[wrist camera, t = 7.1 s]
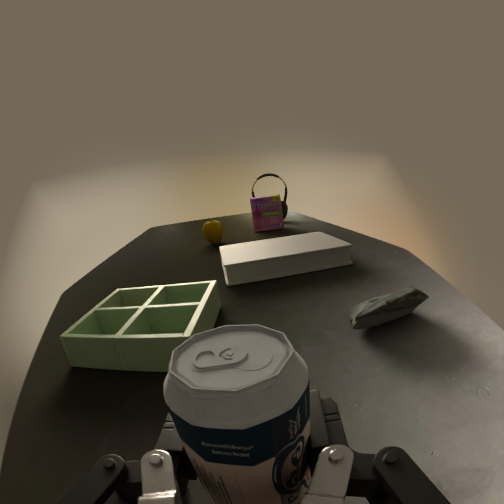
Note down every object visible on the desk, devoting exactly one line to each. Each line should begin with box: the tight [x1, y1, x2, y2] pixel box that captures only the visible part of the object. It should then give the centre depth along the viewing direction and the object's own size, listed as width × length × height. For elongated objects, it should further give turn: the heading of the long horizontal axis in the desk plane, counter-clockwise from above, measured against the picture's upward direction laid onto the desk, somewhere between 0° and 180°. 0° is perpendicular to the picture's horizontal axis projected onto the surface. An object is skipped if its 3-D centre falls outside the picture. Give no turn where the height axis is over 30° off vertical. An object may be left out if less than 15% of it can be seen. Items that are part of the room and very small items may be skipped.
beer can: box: [163, 324, 310, 504], centre depth 10 cm, size 5×5×12 cm
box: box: [250, 194, 284, 232], centre depth 104 cm, size 10×6×12 cm, turn 88°
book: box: [219, 232, 353, 286], centre depth 61 cm, size 18×4×24 cm
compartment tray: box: [59, 280, 221, 372], centre depth 35 cm, size 16×16×4 cm
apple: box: [202, 218, 223, 244], centre depth 91 cm, size 6×6×8 cm
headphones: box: [252, 174, 288, 220], centre depth 119 cm, size 9×15×20 cm, turn 103°
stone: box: [349, 286, 429, 329], centre depth 32 cm, size 11×4×10 cm
